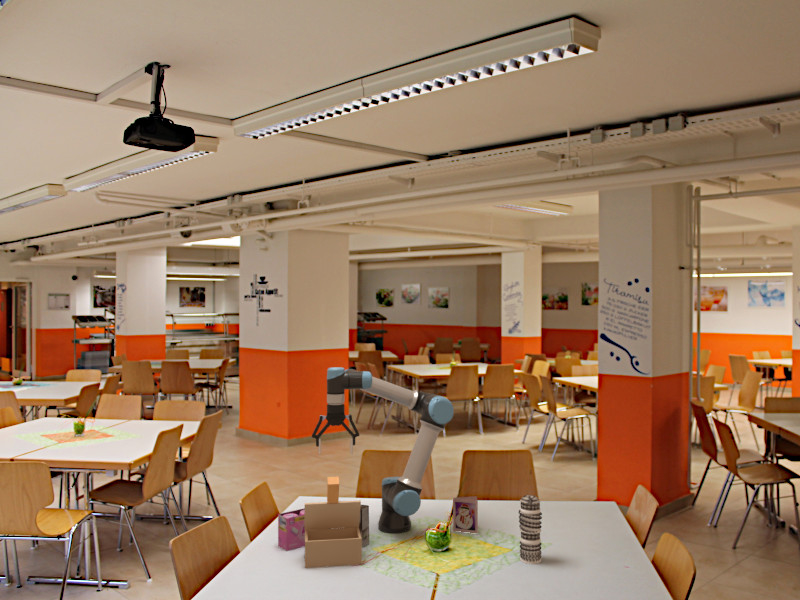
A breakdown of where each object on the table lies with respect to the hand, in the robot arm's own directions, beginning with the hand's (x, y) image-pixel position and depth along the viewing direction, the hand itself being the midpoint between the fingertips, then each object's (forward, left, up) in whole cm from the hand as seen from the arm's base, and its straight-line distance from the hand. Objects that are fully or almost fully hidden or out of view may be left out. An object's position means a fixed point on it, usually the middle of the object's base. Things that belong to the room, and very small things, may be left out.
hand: (335, 453), depth 272 cm
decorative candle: (-76, +29, -39) cm, 90 cm away
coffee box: (-9, 0, -39) cm, 40 cm away
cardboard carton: (+2, +16, -39) cm, 42 cm away
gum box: (+13, -6, -39) cm, 41 cm away
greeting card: (-60, -9, -39) cm, 72 cm away
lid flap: (+2, +16, -18) cm, 24 cm away
